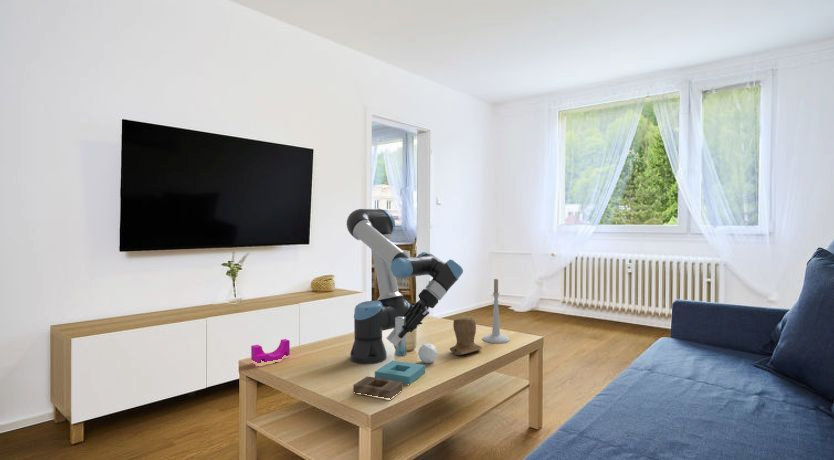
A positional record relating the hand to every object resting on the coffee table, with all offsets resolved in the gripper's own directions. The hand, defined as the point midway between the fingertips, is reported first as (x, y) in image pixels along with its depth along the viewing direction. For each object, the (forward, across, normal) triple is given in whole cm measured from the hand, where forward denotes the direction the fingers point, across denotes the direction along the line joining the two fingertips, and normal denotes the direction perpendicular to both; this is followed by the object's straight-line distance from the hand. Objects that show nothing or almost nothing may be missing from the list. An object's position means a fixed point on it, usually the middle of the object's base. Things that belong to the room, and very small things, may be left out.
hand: (390, 342), depth 165 cm
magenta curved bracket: (+38, -36, -19) cm, 56 cm away
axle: (+1, 0, +6) cm, 6 cm away
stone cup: (-19, -19, +38) cm, 46 cm away
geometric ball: (-4, -12, +23) cm, 26 cm away
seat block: (+7, 0, +12) cm, 14 cm away
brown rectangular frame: (+15, +12, +4) cm, 20 cm away
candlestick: (-35, -31, +54) cm, 72 cm away
